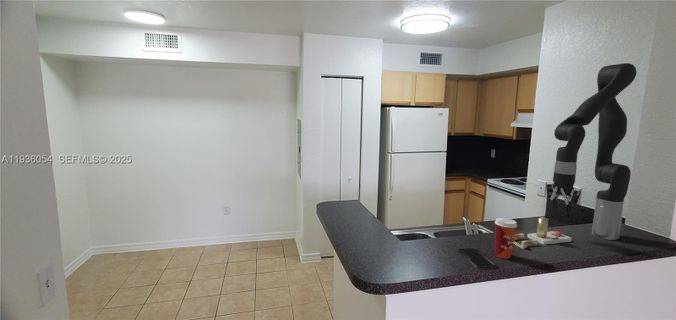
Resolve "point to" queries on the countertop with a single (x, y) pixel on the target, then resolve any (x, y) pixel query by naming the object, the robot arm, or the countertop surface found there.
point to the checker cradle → (550, 238)
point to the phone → (477, 258)
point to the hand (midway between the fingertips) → (560, 210)
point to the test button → (557, 233)
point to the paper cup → (504, 237)
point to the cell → (542, 227)
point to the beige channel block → (524, 243)
